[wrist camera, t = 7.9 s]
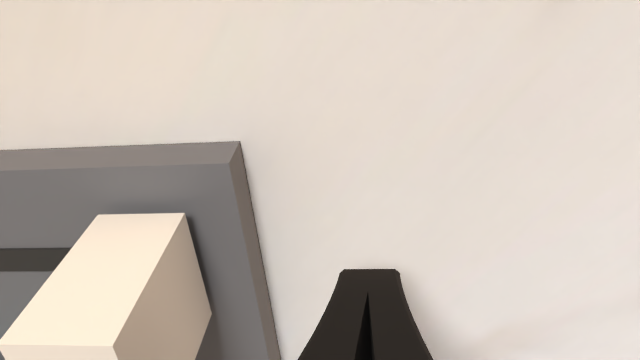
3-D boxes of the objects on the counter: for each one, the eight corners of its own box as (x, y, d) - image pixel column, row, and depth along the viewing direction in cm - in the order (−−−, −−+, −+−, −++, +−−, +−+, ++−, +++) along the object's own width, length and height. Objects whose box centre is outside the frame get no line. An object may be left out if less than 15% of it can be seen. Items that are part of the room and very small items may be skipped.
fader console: (297, 450, 22) (290, 501, 20) (24, 439, 23) (-4, 486, 21) (239, 141, 14) (220, 180, 13) (-151, 156, 16) (-214, 192, 14)
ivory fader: (211, 313, 16) (159, 457, 12) (134, 313, 16) (59, 453, 12) (184, 212, 14) (112, 345, 10) (97, 214, 14) (-3, 344, 10)
